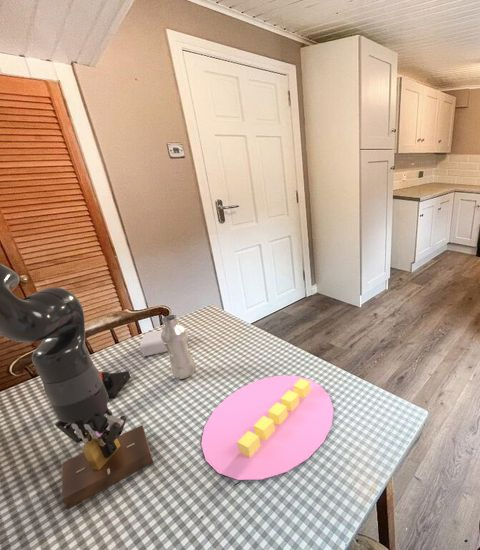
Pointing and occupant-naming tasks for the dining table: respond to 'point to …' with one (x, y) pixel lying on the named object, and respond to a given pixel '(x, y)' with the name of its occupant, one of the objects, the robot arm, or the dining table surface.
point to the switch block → (114, 382)
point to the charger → (154, 343)
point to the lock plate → (105, 468)
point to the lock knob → (96, 453)
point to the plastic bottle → (177, 347)
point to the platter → (267, 427)
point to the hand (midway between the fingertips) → (105, 453)
